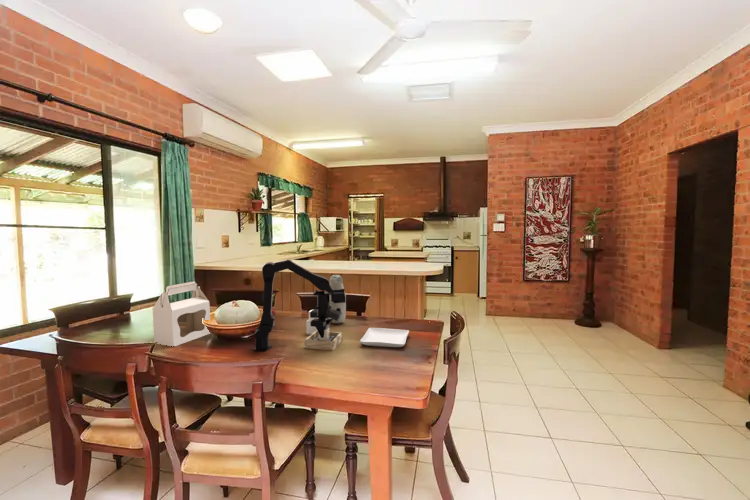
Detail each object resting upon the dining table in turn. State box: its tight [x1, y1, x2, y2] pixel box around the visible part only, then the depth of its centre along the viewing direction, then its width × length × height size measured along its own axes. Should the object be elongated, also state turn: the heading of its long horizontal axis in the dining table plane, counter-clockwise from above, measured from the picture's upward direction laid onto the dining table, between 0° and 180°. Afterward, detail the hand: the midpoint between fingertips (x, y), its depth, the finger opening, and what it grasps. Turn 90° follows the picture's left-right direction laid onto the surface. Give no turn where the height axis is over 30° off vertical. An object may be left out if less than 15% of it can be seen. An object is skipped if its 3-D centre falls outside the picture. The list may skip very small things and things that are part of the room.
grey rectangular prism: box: [318, 324, 330, 340], centre depth 166 cm, size 4×4×8 cm
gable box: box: [152, 280, 211, 347], centre depth 175 cm, size 22×13×28 cm, turn 158°
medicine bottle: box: [305, 308, 318, 335], centre depth 184 cm, size 7×7×12 cm
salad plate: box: [359, 327, 410, 348], centre depth 170 cm, size 21×21×3 cm
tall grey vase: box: [329, 274, 347, 325], centre depth 200 cm, size 10×10×28 cm
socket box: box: [303, 331, 343, 351], centre depth 166 cm, size 14×14×4 cm
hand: (323, 336), depth 166 cm, fingers closed on grey rectangular prism, 4 cm apart
